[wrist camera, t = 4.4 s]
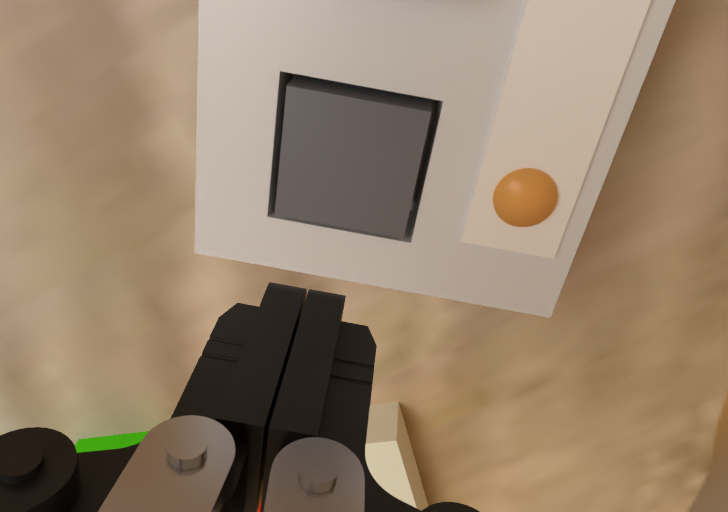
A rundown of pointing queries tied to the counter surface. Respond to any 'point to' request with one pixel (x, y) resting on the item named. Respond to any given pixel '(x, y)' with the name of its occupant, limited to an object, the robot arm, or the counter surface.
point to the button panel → (444, 136)
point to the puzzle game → (382, 452)
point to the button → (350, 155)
